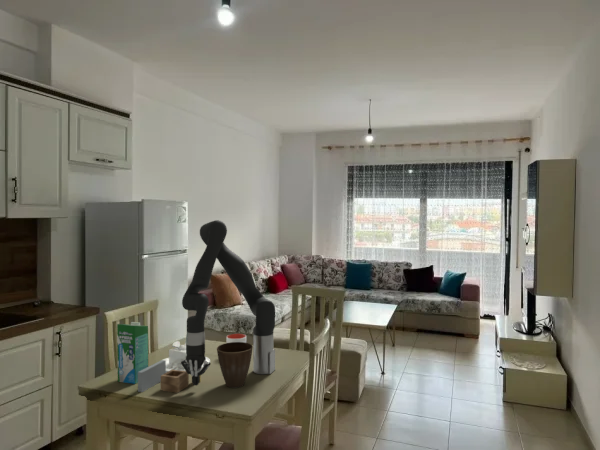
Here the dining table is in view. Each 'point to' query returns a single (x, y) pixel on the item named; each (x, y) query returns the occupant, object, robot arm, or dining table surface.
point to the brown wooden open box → (174, 381)
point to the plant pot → (234, 362)
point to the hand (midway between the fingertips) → (195, 384)
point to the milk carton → (131, 351)
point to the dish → (177, 357)
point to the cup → (236, 338)
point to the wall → (151, 375)
